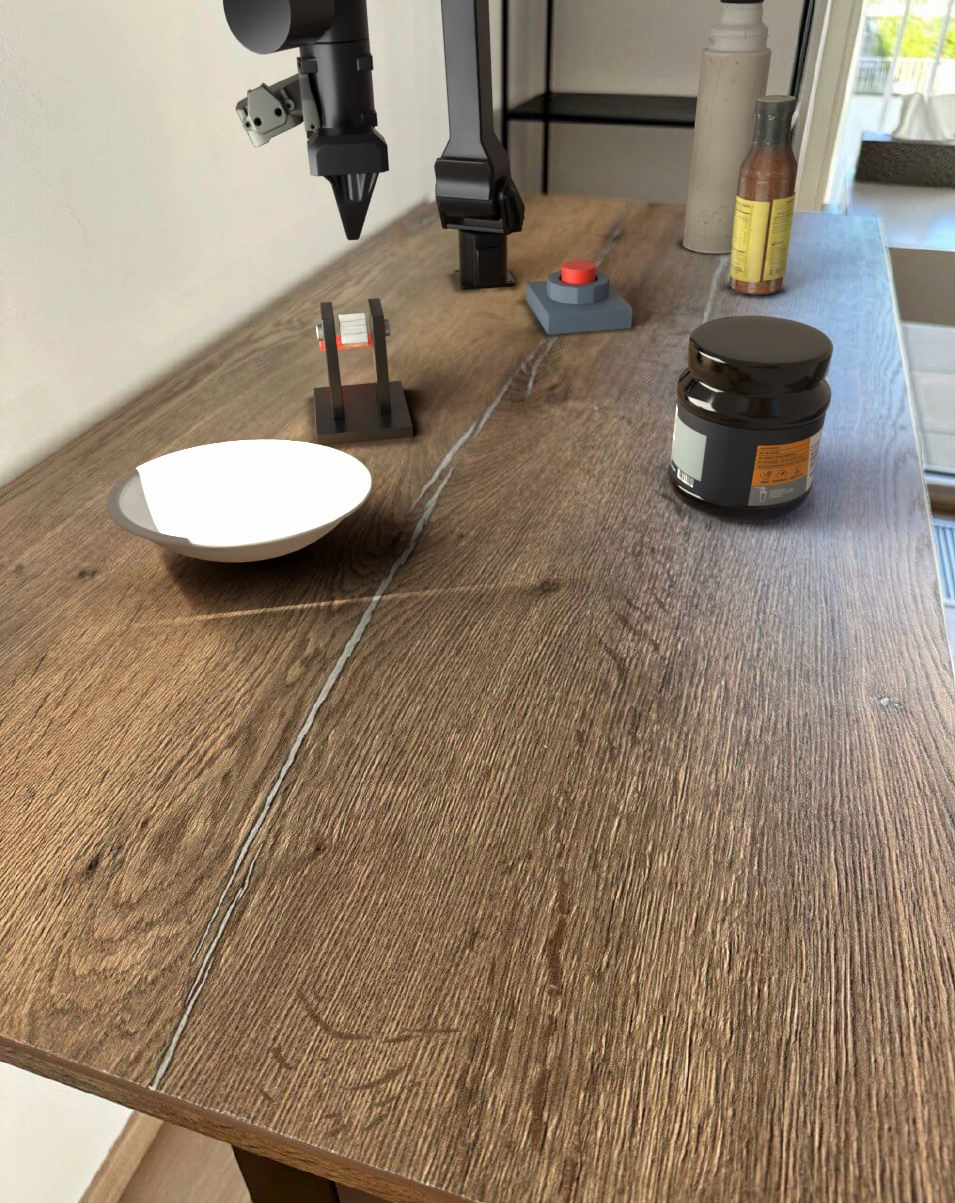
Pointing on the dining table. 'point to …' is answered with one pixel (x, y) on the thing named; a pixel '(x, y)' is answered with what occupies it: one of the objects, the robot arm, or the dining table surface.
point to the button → (578, 272)
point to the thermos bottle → (725, 122)
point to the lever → (352, 332)
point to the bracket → (359, 391)
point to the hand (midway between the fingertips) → (353, 239)
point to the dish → (240, 498)
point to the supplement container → (750, 417)
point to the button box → (578, 305)
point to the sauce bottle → (765, 201)
